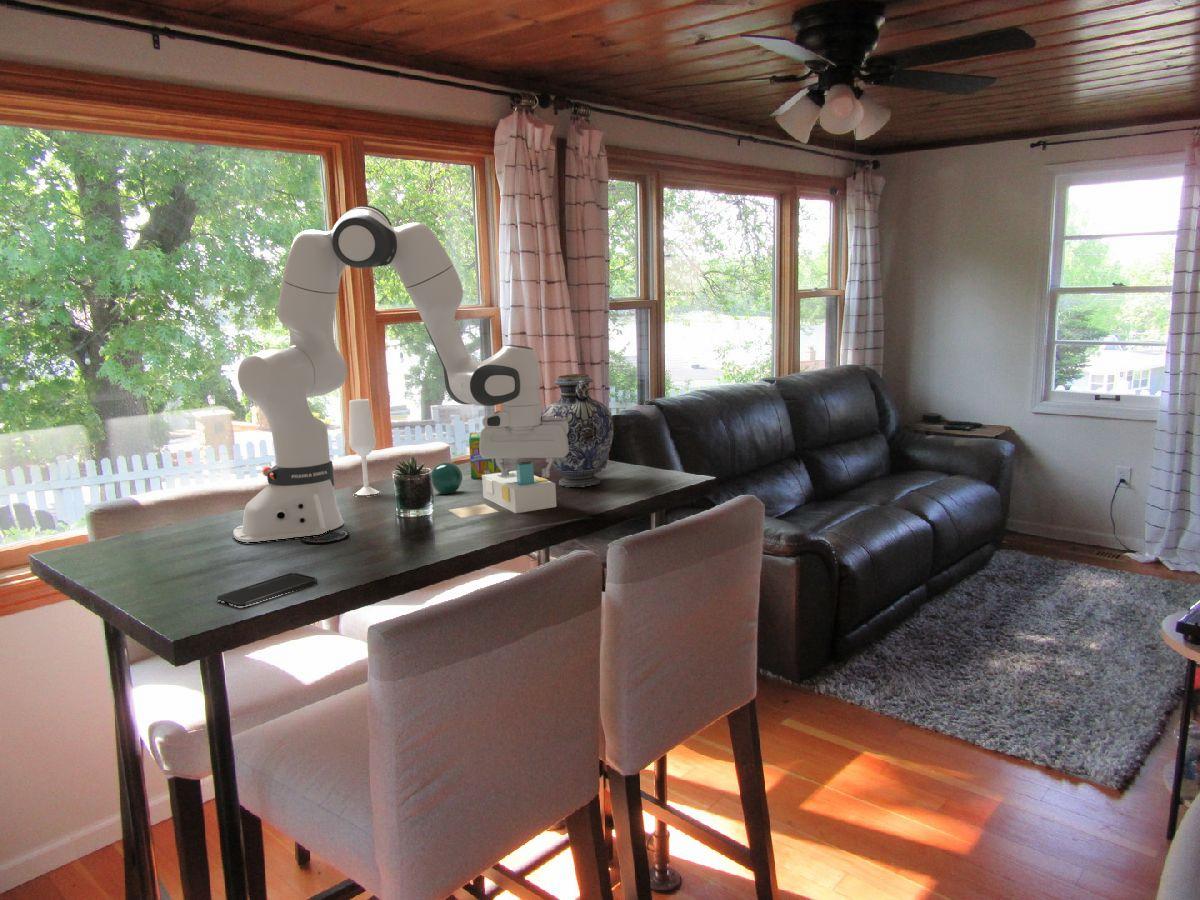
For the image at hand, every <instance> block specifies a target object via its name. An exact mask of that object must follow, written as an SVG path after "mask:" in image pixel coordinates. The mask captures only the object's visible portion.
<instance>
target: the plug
mask: <svg viewBox="0 0 1200 900" xmlns="http://www.w3.org/2000/svg"><path fill="white" fill-rule="evenodd" d="M515 469H516V470H515V471H516V473H517V484H518V485H521V486H522V485H529V484H534V475H535V472H534V470H535V469H534V463H533V462H532V460H530V459H529V458H526V459H519V460H517V462H516V463H515Z"/></svg>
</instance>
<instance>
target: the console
mask: <svg viewBox="0 0 1200 900" xmlns="http://www.w3.org/2000/svg"><path fill="white" fill-rule="evenodd" d="M481 481H482V482H481V483H482V496H483V498H485V499H486V500H488V501H490V502H492V503H494V504H496V505H498V506H501V507H503V508H504V509H506V510H508V511H510V512H512V513H514V514H520V513H526V512H532V511H533V512H534V511H537V510H538V511H539V510H546V509H551V508H556V507H557V494H556V493H557V492H556V490H557V489H556V483H555V482H553V481H550V480H549V479H547V478H546V477H542V476H541V477H539V476H537V475H535V474H534V484H529V485H522V486H521V485H518V484H517V473H516V470H511V471H510V470H509V477H508V478H502V477H501V473H494V474H487V475H482V478H481Z"/></svg>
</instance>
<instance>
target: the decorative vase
mask: <svg viewBox="0 0 1200 900" xmlns="http://www.w3.org/2000/svg"><path fill="white" fill-rule="evenodd" d="M593 382H594V380H593V379H592V378H590V376H589V374H584V373H574V374H573V373H572V374H569V373H568V374H564V375H563V374H562V375H559V376H558V377H557V380H555V381H554V385H556V386H557V385H558V387H559V390H560V393H559V395H560V398H559V399H558V401H556V402H553V403H551V404H549V405H548V406H547V407H546V408H545V409H544V411H542V416H550V417H556V416H560V417H562V418H564V419H565V420H567V422H568V427H569V431H568V434H567V438H568V445H569V453H568V454H567V455H566V456H565V457H563V458H554V462H553V464H552V467H553V468H554V470H556V471H557V472H558V473H559V474H561V475H562V476H563V477H562V478H560V479H559V481H558V486H560V485H561V486H560V487H562V486H565V487H564V488H569V487H582V488H586V487H585V486H590V487H592V486H591V485H595V486H597V485H599V484H600V482H601V481H600V479H599V477H598V476H595V474H598V473H600V472H602V470H603V469H606V468H607V464H608V460H609V459H610V458H609V457H610V455H609V453H610V452H611V448H612V445H613V444H612V443H613V439H614V423H613V421H614V420H613V417H612V414H611V411H610V409H609V408H608V406H607V405H605V404H604V403H602V402H601V401H599V400H597V399H593V398H591V396H590V391H589V384H590V383H591V384H592V383H593ZM562 421H564V420H562ZM598 483H599V484H598ZM596 484H597V485H596Z"/></svg>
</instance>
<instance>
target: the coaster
mask: <svg viewBox="0 0 1200 900" xmlns="http://www.w3.org/2000/svg"><path fill="white" fill-rule="evenodd" d="M447 511H448V512H450V513H452V514H454V515H455V516H457V517H458V518H461V519H463V518H469V517H475V516H482V515H488V514H494V513H499V512H500V511H498V510H497V509H495V508H493V507H491V506H489V505H488V504H486V503H485V504H483V503H482V504H479V505H477V504H476V505H471V506H465V507H457V508H451V509H447Z"/></svg>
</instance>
